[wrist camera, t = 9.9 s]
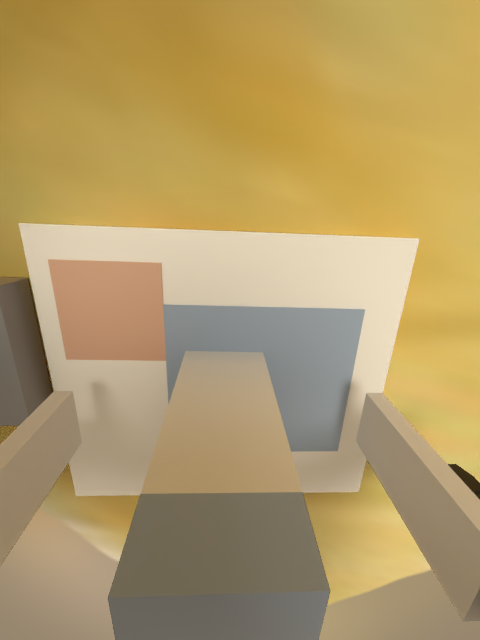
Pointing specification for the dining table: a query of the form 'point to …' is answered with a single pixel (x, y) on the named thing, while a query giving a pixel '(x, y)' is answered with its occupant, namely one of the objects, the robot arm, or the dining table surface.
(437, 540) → the robot arm
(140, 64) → the dining table surface
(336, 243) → the picture card
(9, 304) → the button housing
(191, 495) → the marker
